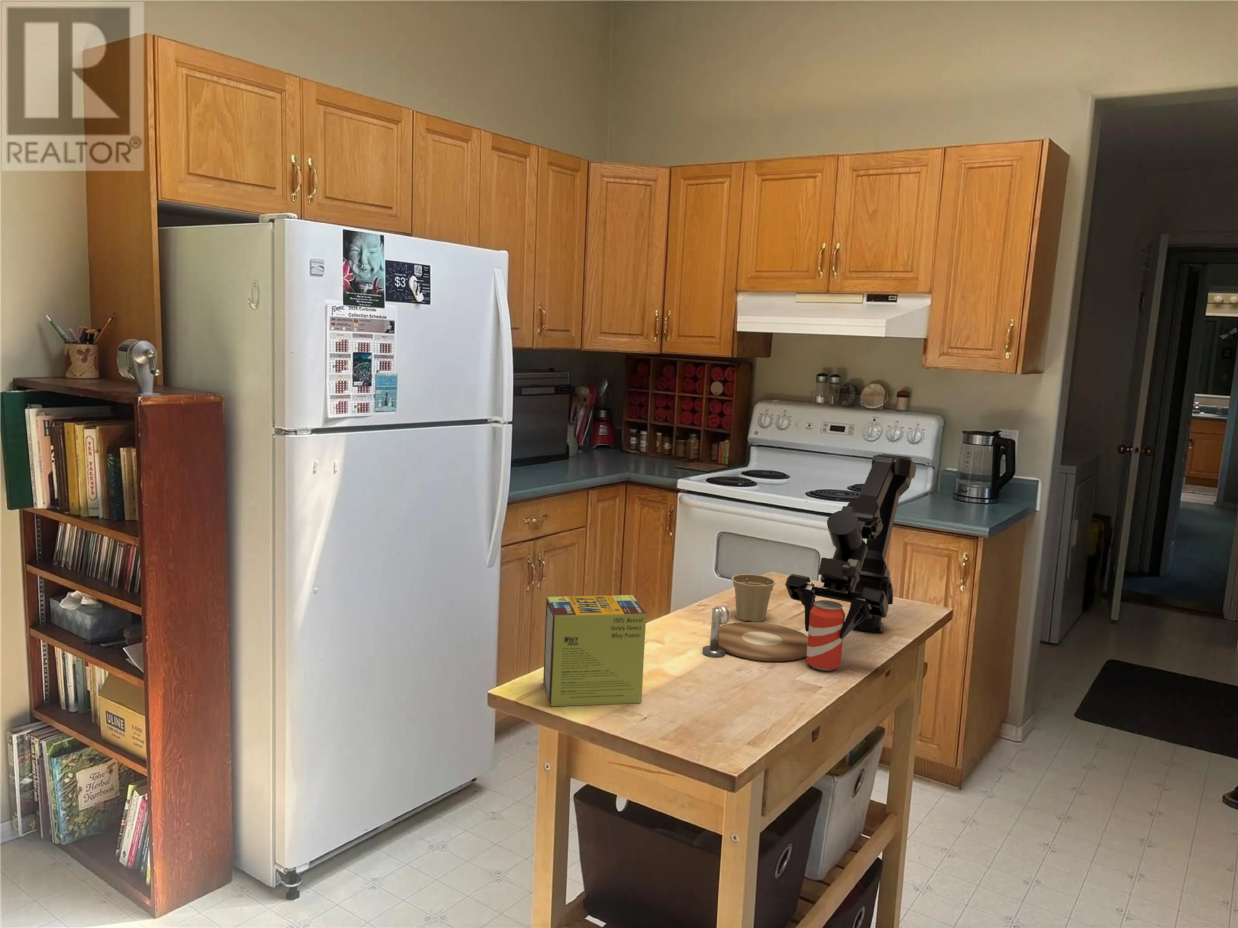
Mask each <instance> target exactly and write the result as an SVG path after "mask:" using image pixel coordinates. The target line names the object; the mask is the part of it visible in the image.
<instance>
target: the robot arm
mask: <svg viewBox="0 0 1238 928" xmlns="http://www.w3.org/2000/svg"><path fill="white" fill-rule="evenodd" d="M916 473H917V464H916V462H915V461H913V459H912V457H911V456H907V455H898V454H896V455H895V454H888V453H882V454H881V453H880V454H877V455H876V454H875V455H874V456H872V461H871V468H870V470H869V472H868V475H867V477H866V479H865V481H864V483H863V485H862V488H861V490H860V492H859V494H858V496H857V498H855V499H853V500H851V501H849V502H848V503H847V504H846V505H842V508H841V510H837V511H835V512H833V513H832V514H831V515H830V516H828V517H827V520H826V526H827V530H828V532H829V536H830V539H831V544H832V546H833V547H835V549H834V553H833V556H832V558H827V557H821V558H820V562H819V563H820V564H819V568H818V573H817V575H820V579H819V580H820V583H823V586H821V585H816V584H814V583H813V582H812V581H811V579H810V577H809V576H805V575H801V574H795V573H792V574H790V575H789V576H788V577H787V578H786V582H785V583H784V585H785V587H786V590H787V593H788V595H789V597H790V599H792V600H793V601H798V602H801V605H803V606H804V607H803V608H804V630H805V631H806V633H808V631H809V619H810V611H811V609H812V608H813V607H814V603H815V601H816V598H817V597H820V598H821V597H822V598H827V599H831V600H836V601H841V602H846V603H850V606H849V610H848V613H847V615H846V616H845V620H844V624H843V627H842V629H841V633H840V639H843V640H844V639H845V638H846V637H847V635H848V634H849V633H851V632H852V630H854V631H861V632H868V633H869V632H870V633H878V634H883V633H884V623H883V621H882V619H884V618H886V617H887V614H888V611H889V605H893V604H894V603H893V602H894V588H893V584H892V579H891V577H890V575H891V572H890V569H889V567H888V566H889V565H888V563H887V561H886V557H887V553H888V549H889V546H890V545H889V544H890V540H891V535H892V531H893V527H894V523H895V518H896V513H897V509H898V505H899V501H900V497H901V496H903V494H904V493H905V492H907V490H909V488H910V486H911V483H912V480H913V479H915V476H916ZM865 540H866V541H865Z"/></svg>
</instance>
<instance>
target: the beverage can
mask: <svg viewBox="0 0 1238 928" xmlns="http://www.w3.org/2000/svg"><path fill="white" fill-rule="evenodd" d="M845 619H846V613H845V611H844V609H843V605H842V604H841V603H840V602H838V601H833V600H828V599H827V600H824V599H820V600H815V603H814V607H813V608H812V609H811V611H810V619H809V631H808V632H807V634H808V635H807V636H808V644H807V656H806V660H805V661H806V663H807V664H809V665H810V666H811V667H812V668H813V669H816V670H819V671H826V672H827V671H828V672H830V671H835V669H838V668H840V666H841V664H842V655H843V654H842V653H843V652H842V651H843V641H844V638H843V639H840V633H841V629H842V627H843V624H844V622H845Z"/></svg>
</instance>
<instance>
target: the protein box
mask: <svg viewBox="0 0 1238 928" xmlns="http://www.w3.org/2000/svg"><path fill="white" fill-rule="evenodd" d="M545 606H546V607H545V630H544V655H543V656H544V657H543V658H544V659H543V660H544V661H543V682H542V683H543V685H544V689H545V692H546V696H547V699H548V702H549V706H550V707H570V706H596V705H597V706H598V705H599V706H601V705H623V704H625V705H626V704H627V705H629V704H640V703H641V704H642V699H643V696H642V695H643V684H644V683H643V681H644V680H643V679H644V663H645V662H644V660H645V659H644V658H645V644H646V641H645V640H646V625H647V612H646V611H645V609H643V607H642V606H641V605H640V604H639V602H638V600H637V599H636V597H635V596H634V595H633V594H624V595H623V594H621V595H620V594H619V595H577V596H576V595H574V596H573V595H572V596H571V595H568V596H567V595H565V596H563V595H562V596H547V597H546V603H545Z"/></svg>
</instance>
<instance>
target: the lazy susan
mask: <svg viewBox="0 0 1238 928" xmlns="http://www.w3.org/2000/svg"><path fill="white" fill-rule="evenodd" d="M807 644H808V635H807V634H805V633H803V632H801V631H799V630H797V629H793V628H791V627H787V626H783V625H779V624H773V623H767V622H752V621H740V622H732V623H727V624H723V625H720V630H719V645H718V646H720V647H722V648H724V649H725V653H728V654H730V655H733V656H736V657H740V658H743V659H749V660H755V661H763V662H764V661H765V662H789V661H797V660H800V659H803V658H805V657H806V656H807Z"/></svg>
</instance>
